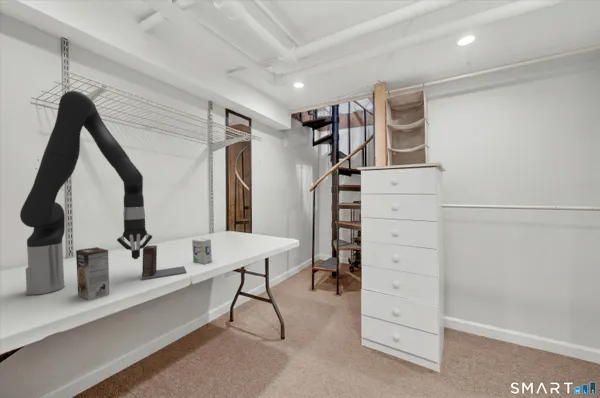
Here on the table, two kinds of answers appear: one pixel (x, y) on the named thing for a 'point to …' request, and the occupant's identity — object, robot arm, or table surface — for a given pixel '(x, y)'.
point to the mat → (166, 273)
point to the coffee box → (92, 273)
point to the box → (149, 260)
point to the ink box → (202, 250)
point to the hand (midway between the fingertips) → (136, 258)
